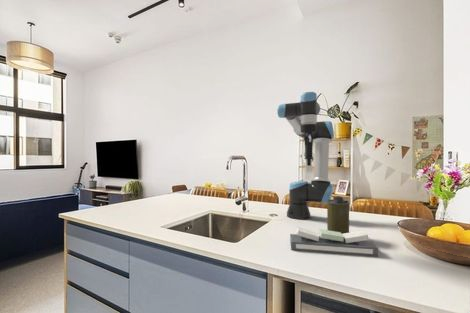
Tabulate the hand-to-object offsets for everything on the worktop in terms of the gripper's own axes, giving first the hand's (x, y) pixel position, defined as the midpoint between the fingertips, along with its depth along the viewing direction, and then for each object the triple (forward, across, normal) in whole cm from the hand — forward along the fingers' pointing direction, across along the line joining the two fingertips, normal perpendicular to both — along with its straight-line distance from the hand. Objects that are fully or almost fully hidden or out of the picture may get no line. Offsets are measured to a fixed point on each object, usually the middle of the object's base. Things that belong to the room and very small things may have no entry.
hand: (308, 172), depth 115 cm
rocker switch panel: (+32, +12, +8) cm, 35 cm away
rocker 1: (+28, +12, -2) cm, 30 cm away
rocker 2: (+28, +12, +18) cm, 35 cm away
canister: (+33, -5, +15) cm, 36 cm away
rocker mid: (+28, +12, +8) cm, 31 cm away
